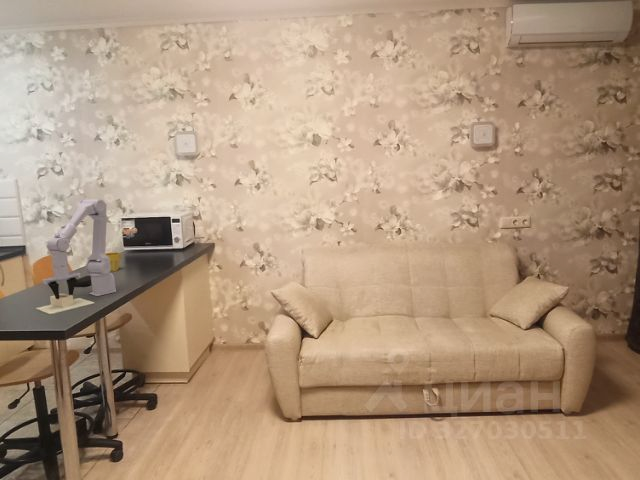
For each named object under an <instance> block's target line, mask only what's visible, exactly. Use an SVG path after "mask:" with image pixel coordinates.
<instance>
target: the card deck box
mask: <svg viewBox="0 0 640 480" xmlns="http://www.w3.org/2000/svg"><path fill="white" fill-rule="evenodd" d="M73 299H74V294H73V295H69V293H68V294H66V293H59V299H56V298H55V295H51V296H49V301H50V305H51V306H55V307H62V308H64V307H67V306H70V305H73V304H74V300H73Z"/></svg>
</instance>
